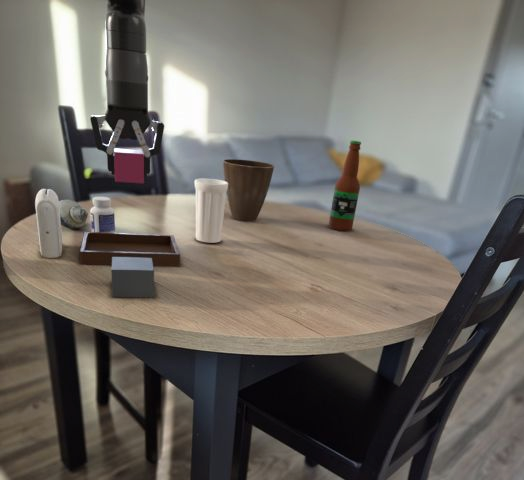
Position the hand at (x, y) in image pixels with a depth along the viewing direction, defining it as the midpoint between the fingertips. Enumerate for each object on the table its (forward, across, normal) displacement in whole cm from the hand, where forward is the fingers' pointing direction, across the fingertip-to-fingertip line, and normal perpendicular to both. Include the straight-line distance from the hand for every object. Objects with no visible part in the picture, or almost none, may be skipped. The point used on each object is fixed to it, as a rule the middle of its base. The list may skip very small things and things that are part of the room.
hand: (129, 174), depth 97 cm
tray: (+16, 0, 0) cm, 16 cm away
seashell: (+17, +14, -21) cm, 30 cm away
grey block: (+16, 0, +21) cm, 27 cm away
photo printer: (+17, +16, -1) cm, 23 cm away
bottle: (+17, -63, -32) cm, 73 cm away
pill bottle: (+17, +6, -13) cm, 22 cm away
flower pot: (+17, -34, -39) cm, 54 cm away
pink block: (+1, 0, 0) cm, 1 cm away
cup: (+17, -19, -13) cm, 28 cm away
